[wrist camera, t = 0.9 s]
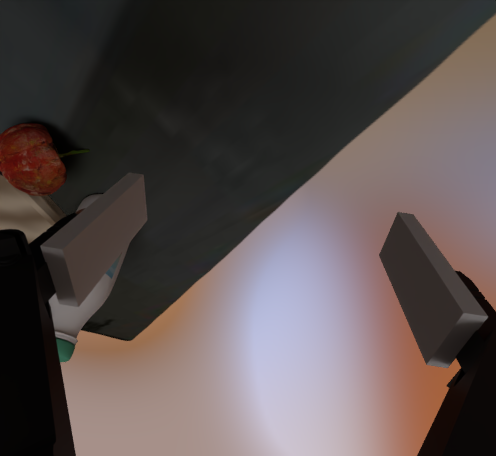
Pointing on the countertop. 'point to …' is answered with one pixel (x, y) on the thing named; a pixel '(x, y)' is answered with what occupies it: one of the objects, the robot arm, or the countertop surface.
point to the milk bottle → (74, 318)
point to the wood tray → (26, 211)
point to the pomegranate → (32, 159)
